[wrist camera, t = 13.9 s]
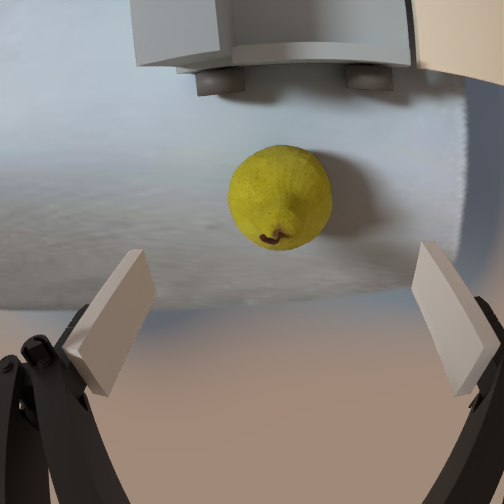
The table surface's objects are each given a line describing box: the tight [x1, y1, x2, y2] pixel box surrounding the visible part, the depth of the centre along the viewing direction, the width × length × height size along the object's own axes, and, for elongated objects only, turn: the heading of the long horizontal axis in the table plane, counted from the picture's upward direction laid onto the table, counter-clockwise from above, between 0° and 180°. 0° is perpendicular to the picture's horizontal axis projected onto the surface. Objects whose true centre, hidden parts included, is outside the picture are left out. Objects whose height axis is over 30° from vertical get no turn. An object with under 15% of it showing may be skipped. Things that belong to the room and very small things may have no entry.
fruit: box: [228, 145, 333, 251], centre depth 19 cm, size 7×7×12 cm
